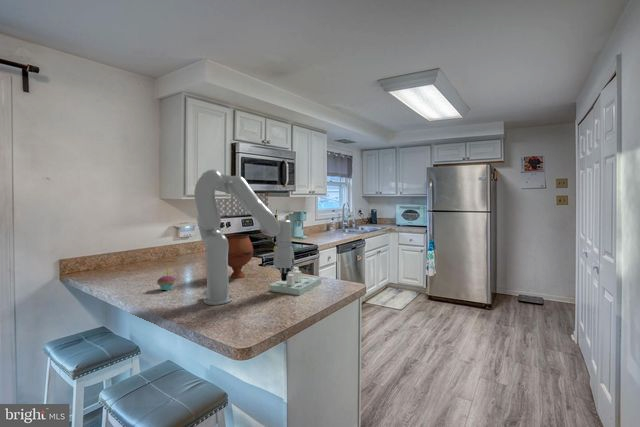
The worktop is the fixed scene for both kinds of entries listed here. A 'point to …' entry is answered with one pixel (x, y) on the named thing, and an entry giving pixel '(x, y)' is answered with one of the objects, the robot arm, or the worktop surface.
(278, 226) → the robot arm
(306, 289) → the switch box
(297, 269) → the switch
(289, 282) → the switch
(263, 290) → the worktop surface
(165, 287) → the cupcake
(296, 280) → the switch
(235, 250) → the goblet
